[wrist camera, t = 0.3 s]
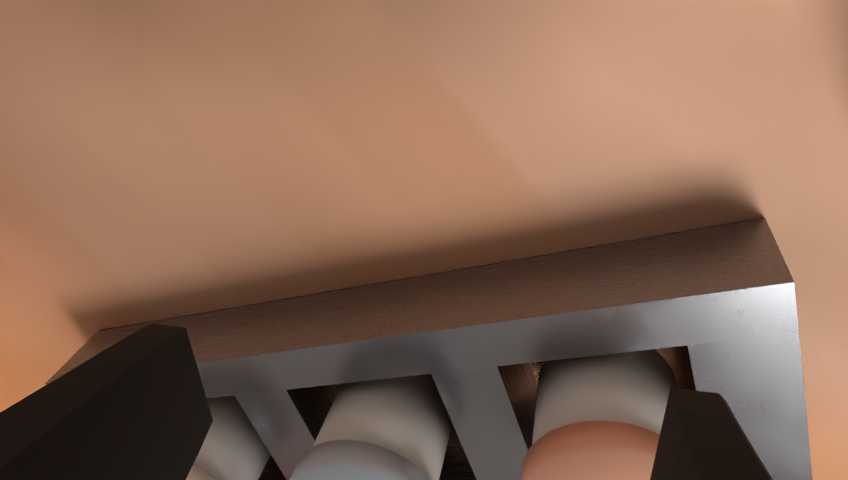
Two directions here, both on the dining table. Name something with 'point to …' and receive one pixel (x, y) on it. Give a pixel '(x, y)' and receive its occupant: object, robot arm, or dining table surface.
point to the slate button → (380, 433)
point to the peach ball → (599, 417)
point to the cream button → (230, 445)
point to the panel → (517, 343)
